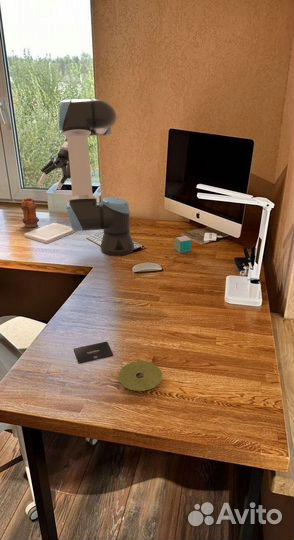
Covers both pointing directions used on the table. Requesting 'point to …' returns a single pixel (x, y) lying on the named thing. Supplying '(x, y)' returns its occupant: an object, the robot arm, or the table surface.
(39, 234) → the cream rectangular slab
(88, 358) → the solid state drive
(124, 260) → the table surface
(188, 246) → the puzzle toy
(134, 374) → the olive green disc
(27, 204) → the orange brown figurine
